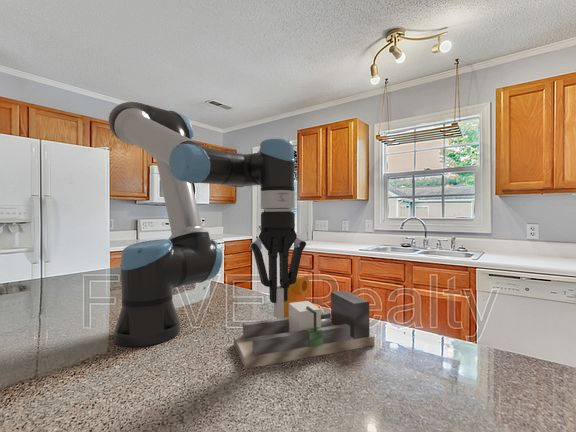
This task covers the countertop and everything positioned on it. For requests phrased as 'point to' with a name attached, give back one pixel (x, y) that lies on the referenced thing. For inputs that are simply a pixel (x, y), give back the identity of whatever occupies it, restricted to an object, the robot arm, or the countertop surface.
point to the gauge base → (294, 353)
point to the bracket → (297, 293)
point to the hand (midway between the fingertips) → (278, 316)
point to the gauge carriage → (305, 317)
